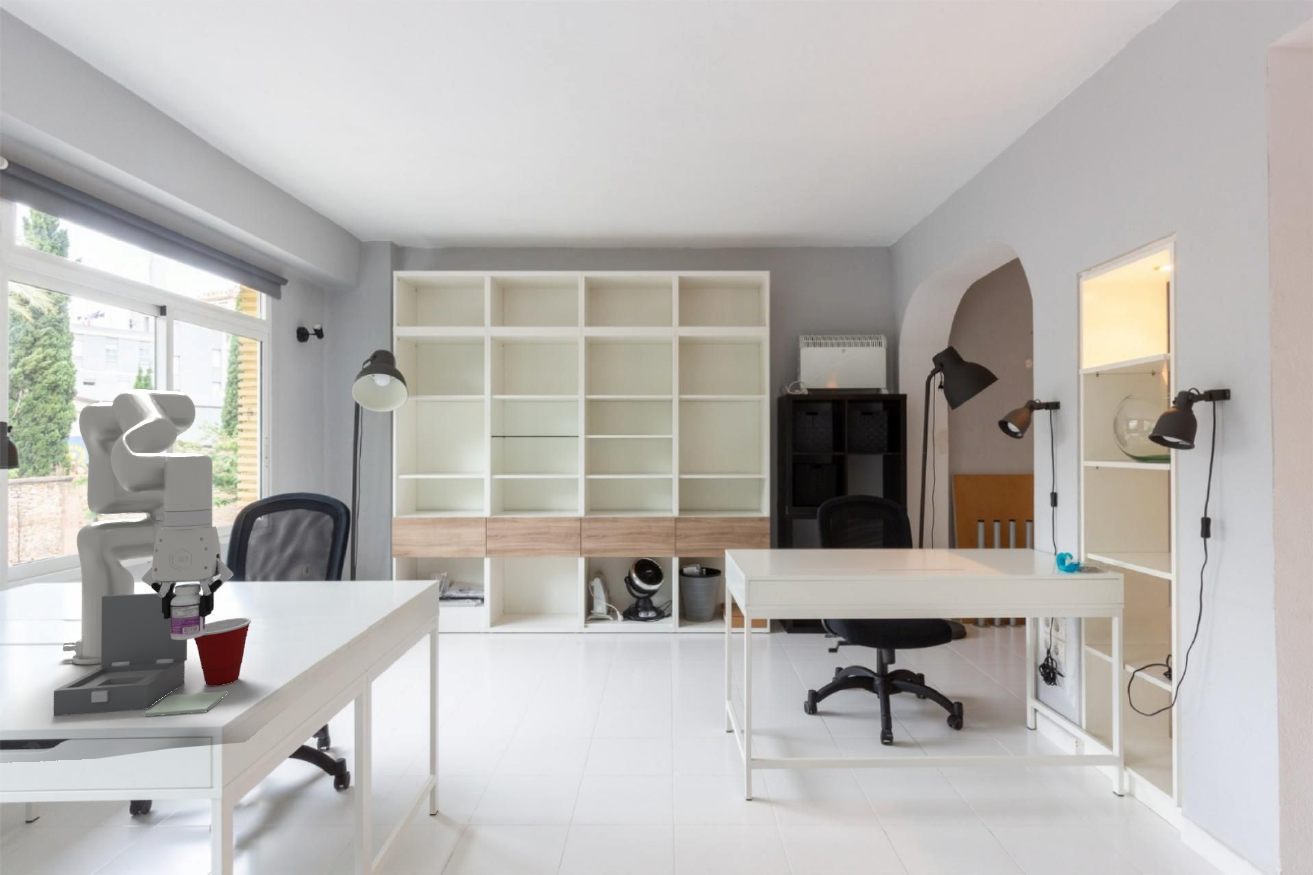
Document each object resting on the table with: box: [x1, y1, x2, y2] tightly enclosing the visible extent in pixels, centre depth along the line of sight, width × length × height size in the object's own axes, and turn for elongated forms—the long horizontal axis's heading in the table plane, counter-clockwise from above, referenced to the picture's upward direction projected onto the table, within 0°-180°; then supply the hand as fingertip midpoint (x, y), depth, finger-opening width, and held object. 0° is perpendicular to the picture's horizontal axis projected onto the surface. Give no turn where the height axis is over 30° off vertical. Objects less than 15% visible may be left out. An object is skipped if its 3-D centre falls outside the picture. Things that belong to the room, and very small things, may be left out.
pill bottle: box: [170, 582, 206, 641], centre depth 127 cm, size 5×5×10 cm
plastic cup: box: [193, 617, 252, 687], centre depth 139 cm, size 11×11×12 cm
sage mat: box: [143, 691, 228, 718], centre depth 126 cm, size 10×9×1 cm
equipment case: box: [53, 592, 188, 717], centre depth 130 cm, size 15×16×18 cm
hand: (188, 615), depth 127 cm, fingers closed on pill bottle, 5 cm apart
